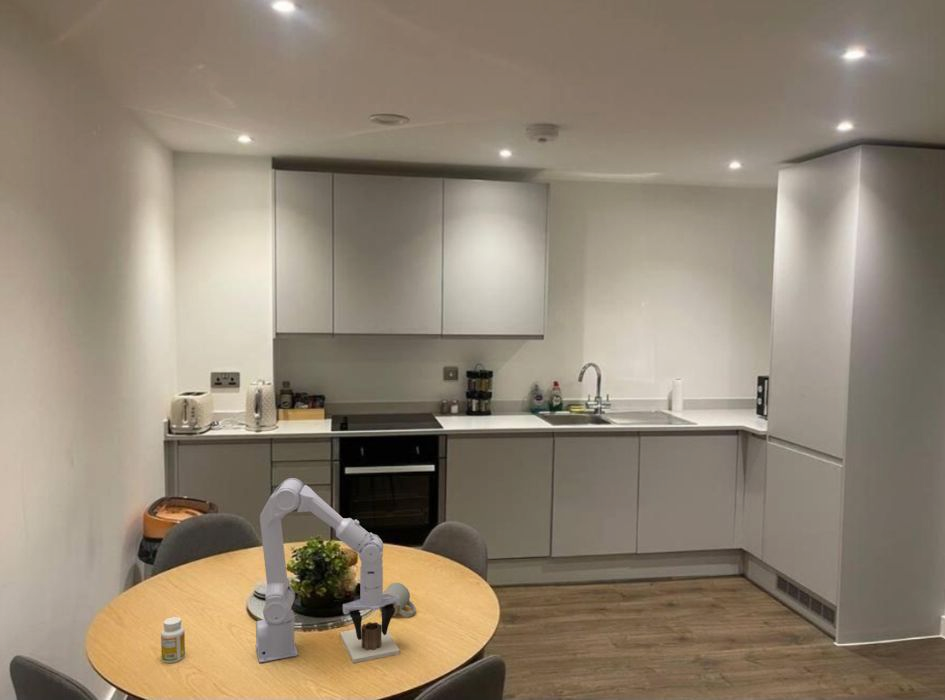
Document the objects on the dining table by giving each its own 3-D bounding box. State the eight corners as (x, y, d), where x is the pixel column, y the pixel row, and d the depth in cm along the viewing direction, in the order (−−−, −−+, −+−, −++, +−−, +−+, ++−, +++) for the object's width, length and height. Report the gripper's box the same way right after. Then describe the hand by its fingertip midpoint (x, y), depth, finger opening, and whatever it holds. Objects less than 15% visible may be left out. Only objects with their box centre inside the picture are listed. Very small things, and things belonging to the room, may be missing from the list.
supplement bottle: (178, 650, 176) (177, 613, 175) (189, 657, 172) (188, 619, 172) (157, 658, 172) (156, 620, 171) (168, 666, 168) (167, 627, 167)
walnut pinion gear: (364, 651, 174) (364, 632, 174) (359, 642, 179) (359, 624, 178) (383, 648, 176) (383, 629, 176) (378, 639, 181) (378, 620, 180)
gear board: (353, 663, 170) (353, 647, 170) (340, 635, 184) (339, 621, 184) (399, 653, 175) (399, 638, 175) (383, 627, 189) (383, 613, 189)
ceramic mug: (376, 616, 195) (376, 591, 195) (386, 604, 203) (387, 580, 202) (409, 621, 193) (410, 596, 192) (419, 609, 200) (420, 585, 200)
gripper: (347, 595, 169) (347, 648, 171) (403, 586, 175) (403, 637, 176) (340, 584, 176) (341, 635, 177) (395, 575, 182) (395, 625, 183)
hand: (371, 635), depth 177 cm, fingers open, 6 cm apart
